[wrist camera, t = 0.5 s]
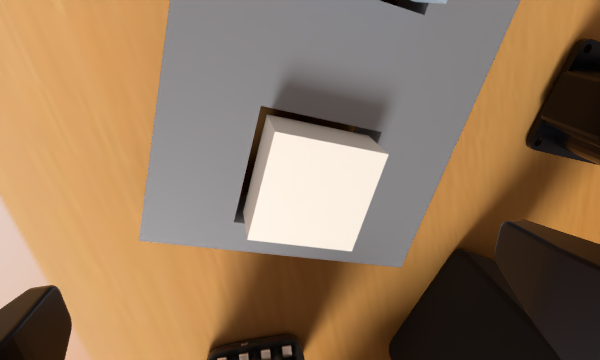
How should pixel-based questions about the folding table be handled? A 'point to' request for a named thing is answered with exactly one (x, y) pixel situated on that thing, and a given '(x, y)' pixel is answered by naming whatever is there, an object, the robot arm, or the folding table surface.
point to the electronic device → (469, 318)
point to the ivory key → (311, 184)
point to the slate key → (431, 1)
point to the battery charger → (261, 349)
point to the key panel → (312, 107)
